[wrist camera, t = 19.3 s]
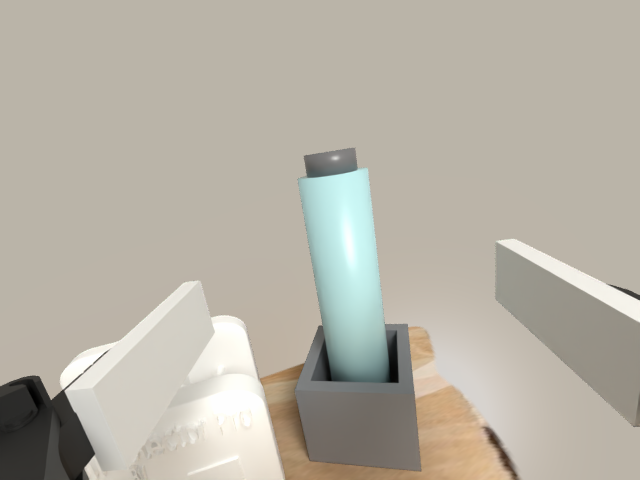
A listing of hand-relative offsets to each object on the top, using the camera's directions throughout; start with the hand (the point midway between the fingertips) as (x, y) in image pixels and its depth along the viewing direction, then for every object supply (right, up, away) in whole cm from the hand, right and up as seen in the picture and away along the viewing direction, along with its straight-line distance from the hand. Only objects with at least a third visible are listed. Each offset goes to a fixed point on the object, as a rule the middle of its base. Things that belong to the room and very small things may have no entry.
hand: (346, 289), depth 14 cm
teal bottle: (+3, -14, +14) cm, 20 cm away
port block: (+3, -14, +14) cm, 20 cm away
